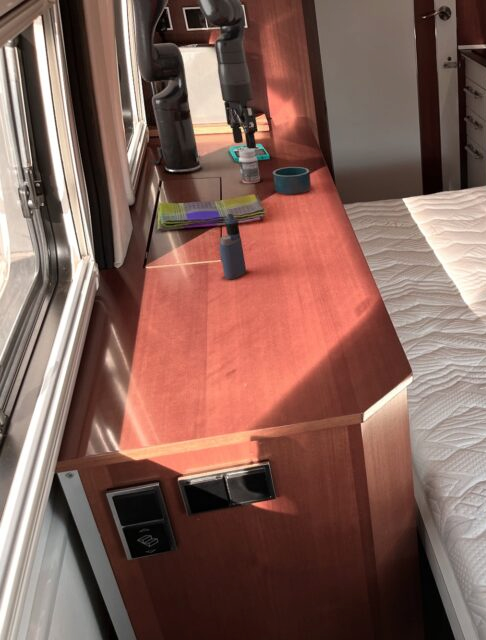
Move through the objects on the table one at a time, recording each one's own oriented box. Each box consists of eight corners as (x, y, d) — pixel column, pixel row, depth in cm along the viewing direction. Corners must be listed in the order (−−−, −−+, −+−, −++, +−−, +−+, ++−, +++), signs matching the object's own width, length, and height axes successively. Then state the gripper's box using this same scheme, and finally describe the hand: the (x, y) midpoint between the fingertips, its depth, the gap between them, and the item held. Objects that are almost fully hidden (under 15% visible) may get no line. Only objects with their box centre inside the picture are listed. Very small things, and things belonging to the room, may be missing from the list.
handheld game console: (262, 147, 254) (261, 142, 254) (270, 159, 242) (270, 154, 241) (229, 150, 251) (228, 145, 250) (236, 162, 238) (235, 157, 238)
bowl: (269, 189, 214) (266, 170, 212) (301, 183, 219) (299, 165, 217) (285, 197, 208) (282, 178, 206) (317, 191, 213) (315, 172, 211)
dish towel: (158, 210, 198) (156, 199, 196) (261, 201, 205) (260, 190, 204) (158, 233, 184) (155, 221, 182) (268, 222, 191) (267, 210, 190)
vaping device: (249, 271, 164) (239, 213, 158) (233, 280, 160) (223, 221, 154) (238, 269, 165) (228, 212, 159) (222, 278, 160) (211, 220, 155)
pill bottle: (244, 179, 223) (239, 148, 219) (261, 178, 223) (257, 148, 219) (240, 183, 219) (235, 152, 215) (258, 183, 219) (253, 152, 215)
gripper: (260, 82, 205) (269, 148, 213) (238, 76, 215) (247, 139, 223) (231, 86, 201) (242, 152, 209) (210, 79, 211) (221, 142, 219)
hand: (245, 145), depth 216 cm, fingers open, 8 cm apart
